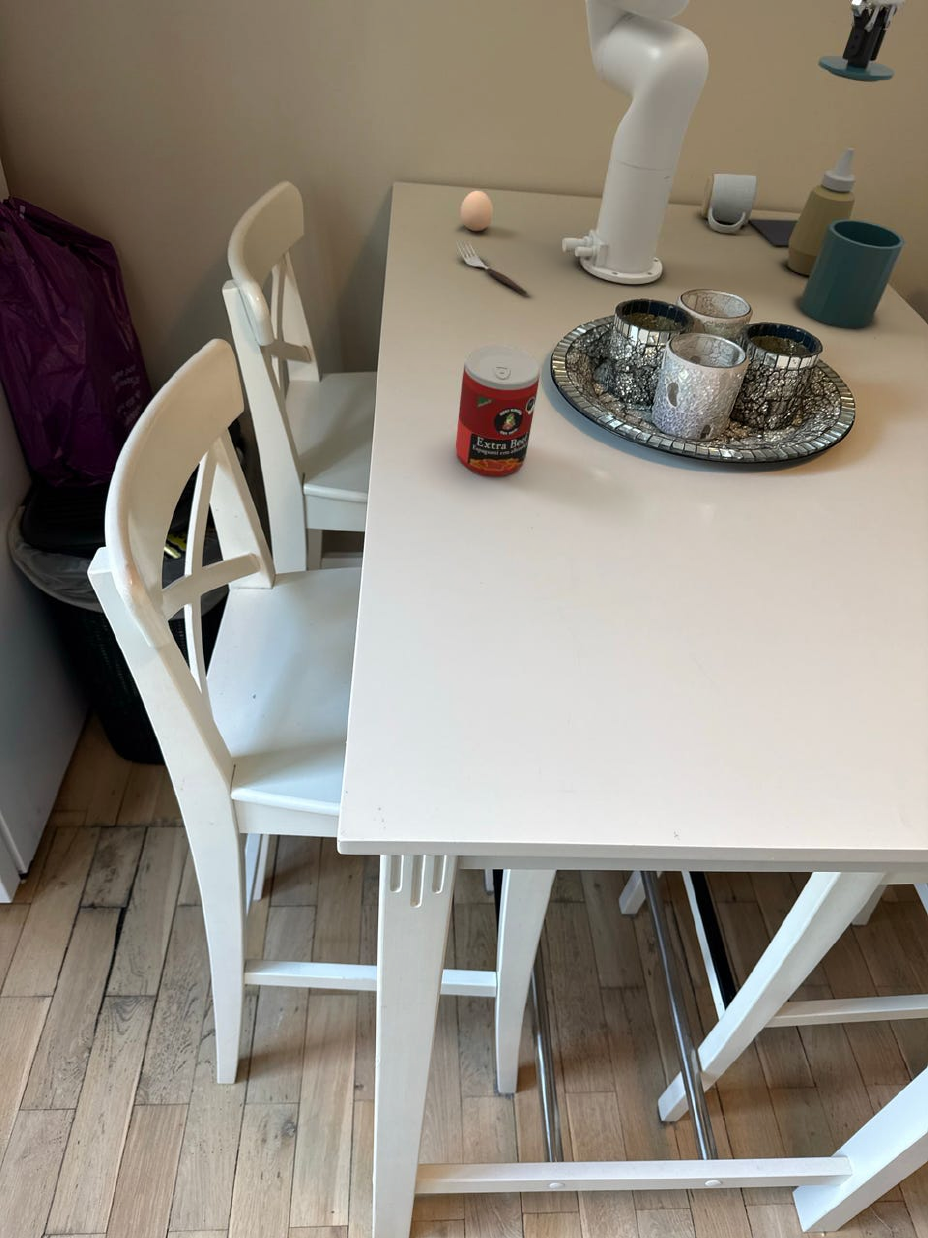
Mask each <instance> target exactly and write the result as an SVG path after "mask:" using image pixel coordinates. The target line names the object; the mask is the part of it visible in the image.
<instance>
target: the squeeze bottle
mask: <svg viewBox="0 0 928 1238" xmlns="http://www.w3.org/2000/svg"><path fill="white" fill-rule="evenodd" d="M854 151H855V148H852V147H849V146H848V147H845V149H844V151H843V152H842V154H841V156H840V157H839V159H838V160H837V162H836V164H835V166H834V168H833V169H828V170H826V171H824V173H823V176H822V179H821V182H820V183H819V184H817V185H816V186H814V187H812V189H811V191H810V192H809V195H808V198H807V200H806V202H805V204H804V206H803V209H802V210H801V213H800V215H799V217H798V219H797V221H798V222H797V224H796V226H795V228H794V230H793V233H792V235H791V237H790V239H789V247H788V253H787V254H788V256H787V257H788V258H787V259H788V260H787V261H788V262H787V266H788V268H789V269H790V270H792V271H793V272H795V273H799V274H802V275H806V276H810V274H811V271H812V268H813V266H814V263H815V260H816V258H817V255H818V252H819V250H820V247H821V244H822V242H823V239H824V236H825V233H826V231H827V228H828V225H829V224H830V223H831V222H833V221H836V220H841V219H851V215H852V211H853V208H854V204H855V200H856V196H855V195H854V192H853V191H852V190H853V188H854V185H855V182H856V176H855V175H853V174H851V170H852V164H853V159H854V154H855V153H854Z"/></svg>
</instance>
